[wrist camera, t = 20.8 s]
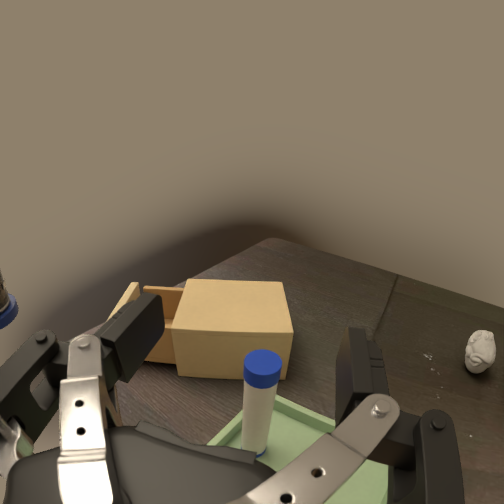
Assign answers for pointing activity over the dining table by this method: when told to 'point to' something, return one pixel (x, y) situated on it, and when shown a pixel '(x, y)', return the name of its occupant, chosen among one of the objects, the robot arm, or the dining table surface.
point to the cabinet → (229, 326)
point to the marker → (259, 398)
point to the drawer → (170, 304)
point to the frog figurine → (480, 351)
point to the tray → (298, 440)
